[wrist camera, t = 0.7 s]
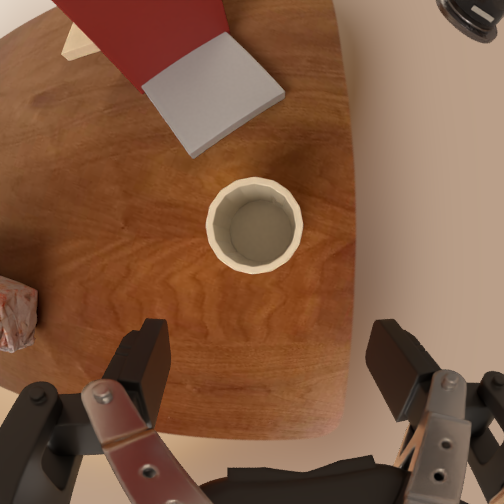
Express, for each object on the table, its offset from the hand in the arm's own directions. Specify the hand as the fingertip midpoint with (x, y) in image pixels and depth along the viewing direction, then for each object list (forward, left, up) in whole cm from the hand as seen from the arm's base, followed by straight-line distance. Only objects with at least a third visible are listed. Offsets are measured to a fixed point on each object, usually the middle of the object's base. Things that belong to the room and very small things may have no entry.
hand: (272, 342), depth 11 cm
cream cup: (-3, -4, -17) cm, 18 cm away
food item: (+23, -26, -17) cm, 39 cm away
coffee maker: (-13, -19, -17) cm, 29 cm away
